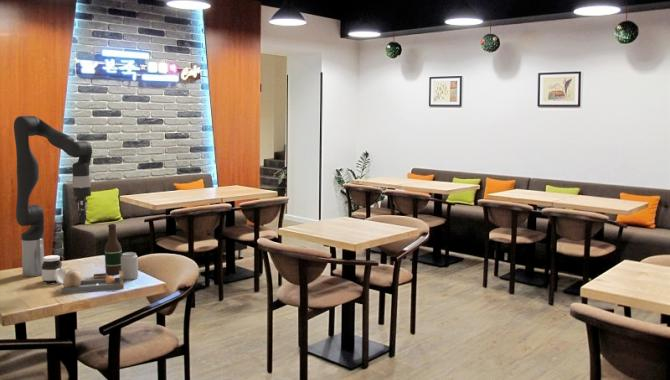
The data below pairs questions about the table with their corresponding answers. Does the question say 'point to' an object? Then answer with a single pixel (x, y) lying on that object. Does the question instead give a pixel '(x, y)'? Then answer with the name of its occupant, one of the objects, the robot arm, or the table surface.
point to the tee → (100, 276)
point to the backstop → (121, 279)
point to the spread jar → (52, 270)
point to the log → (72, 279)
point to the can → (129, 265)
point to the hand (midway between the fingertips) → (83, 221)
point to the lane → (93, 286)
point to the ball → (110, 280)
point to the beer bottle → (112, 252)
